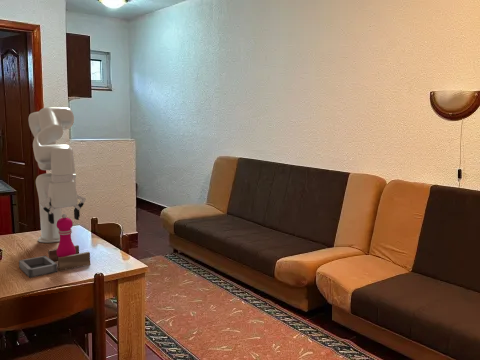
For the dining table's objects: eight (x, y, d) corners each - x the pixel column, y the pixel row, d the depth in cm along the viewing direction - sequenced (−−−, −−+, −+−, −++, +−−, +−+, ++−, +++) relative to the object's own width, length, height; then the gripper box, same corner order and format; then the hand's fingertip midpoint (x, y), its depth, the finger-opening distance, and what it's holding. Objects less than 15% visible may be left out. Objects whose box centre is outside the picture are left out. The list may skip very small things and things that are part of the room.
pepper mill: (70, 266, 181) (67, 216, 178) (53, 265, 182) (50, 215, 179) (79, 260, 188) (77, 212, 185) (63, 259, 189) (61, 211, 186)
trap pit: (19, 267, 180) (18, 260, 179) (45, 262, 186) (45, 255, 186) (29, 277, 169) (29, 270, 169) (57, 272, 175) (57, 264, 175)
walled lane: (48, 262, 186) (48, 250, 186) (78, 256, 194) (77, 245, 193) (59, 271, 176) (58, 258, 176) (90, 264, 184) (89, 252, 183)
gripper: (80, 175, 188) (82, 216, 191) (35, 179, 177) (38, 222, 180) (87, 177, 182) (89, 219, 185) (42, 182, 171) (44, 226, 174)
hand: (64, 221), depth 182 cm, fingers open, 9 cm apart
